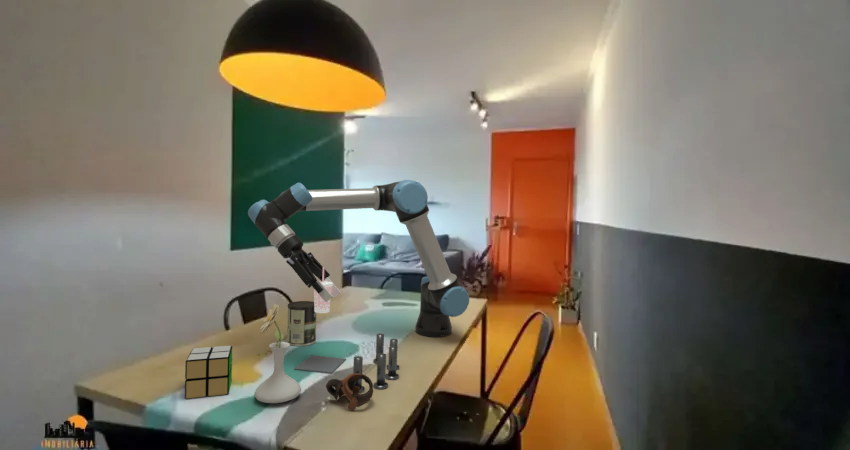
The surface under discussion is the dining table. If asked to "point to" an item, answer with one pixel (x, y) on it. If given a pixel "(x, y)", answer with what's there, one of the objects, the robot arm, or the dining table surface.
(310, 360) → the mat
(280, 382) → the flower in vase
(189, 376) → the puzzle cube
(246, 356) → the dining table surface
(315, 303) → the beverage cup
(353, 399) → the pottery mug
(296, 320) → the coffee can
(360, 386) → the posts
